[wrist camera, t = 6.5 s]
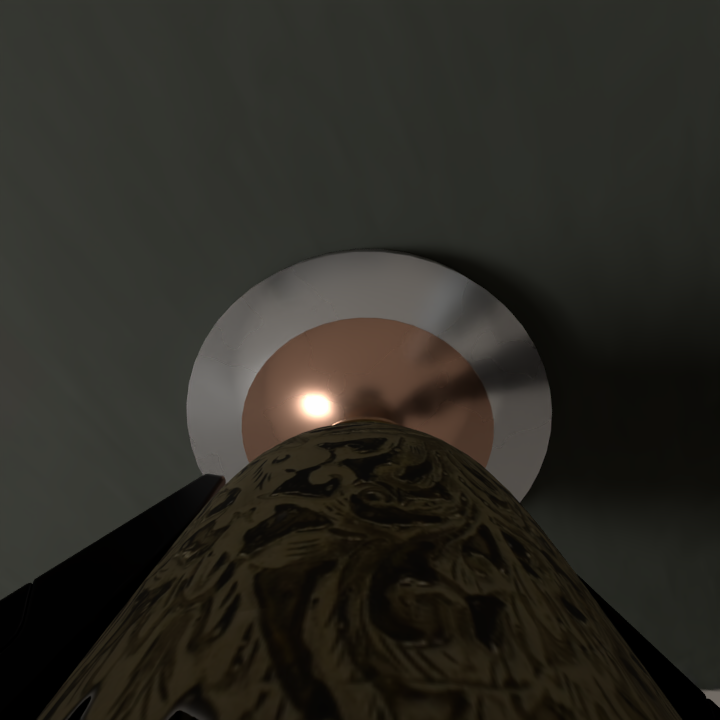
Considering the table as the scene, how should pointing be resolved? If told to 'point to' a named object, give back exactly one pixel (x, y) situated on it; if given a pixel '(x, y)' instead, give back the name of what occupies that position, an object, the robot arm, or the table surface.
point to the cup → (361, 601)
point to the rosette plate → (371, 364)
